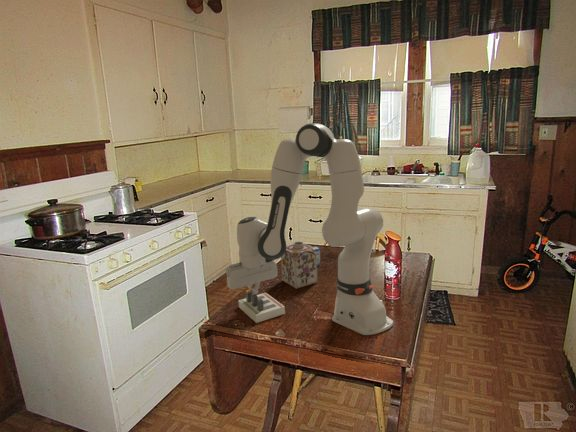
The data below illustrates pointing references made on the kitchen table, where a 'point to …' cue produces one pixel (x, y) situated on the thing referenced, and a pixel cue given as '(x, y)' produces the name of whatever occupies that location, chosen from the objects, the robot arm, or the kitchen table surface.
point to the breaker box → (261, 307)
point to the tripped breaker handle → (248, 295)
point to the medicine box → (317, 254)
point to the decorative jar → (299, 265)
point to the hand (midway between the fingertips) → (254, 293)
